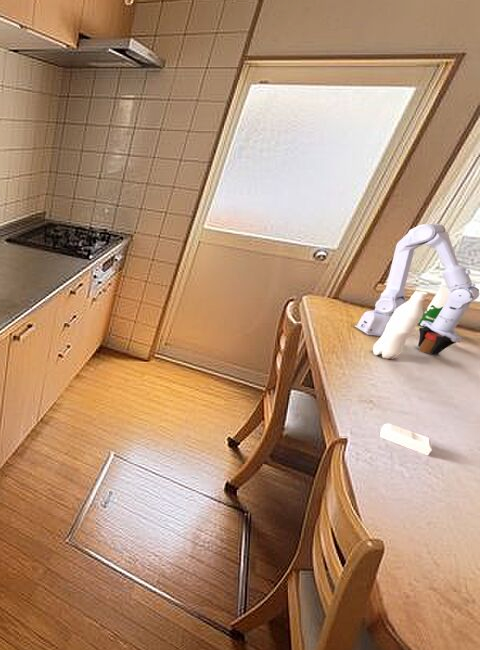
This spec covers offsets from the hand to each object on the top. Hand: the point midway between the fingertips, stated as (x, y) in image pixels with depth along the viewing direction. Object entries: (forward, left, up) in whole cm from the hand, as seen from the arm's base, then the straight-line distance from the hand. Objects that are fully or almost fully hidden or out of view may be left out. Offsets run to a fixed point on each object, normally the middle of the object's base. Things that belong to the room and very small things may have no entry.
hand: (427, 350), depth 159 cm
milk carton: (+24, +28, -1) cm, 37 cm away
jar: (0, 0, -1) cm, 0 cm away
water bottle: (-22, -9, -1) cm, 24 cm away
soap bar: (-55, -63, -1) cm, 84 cm away
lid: (0, 0, +6) cm, 6 cm away
